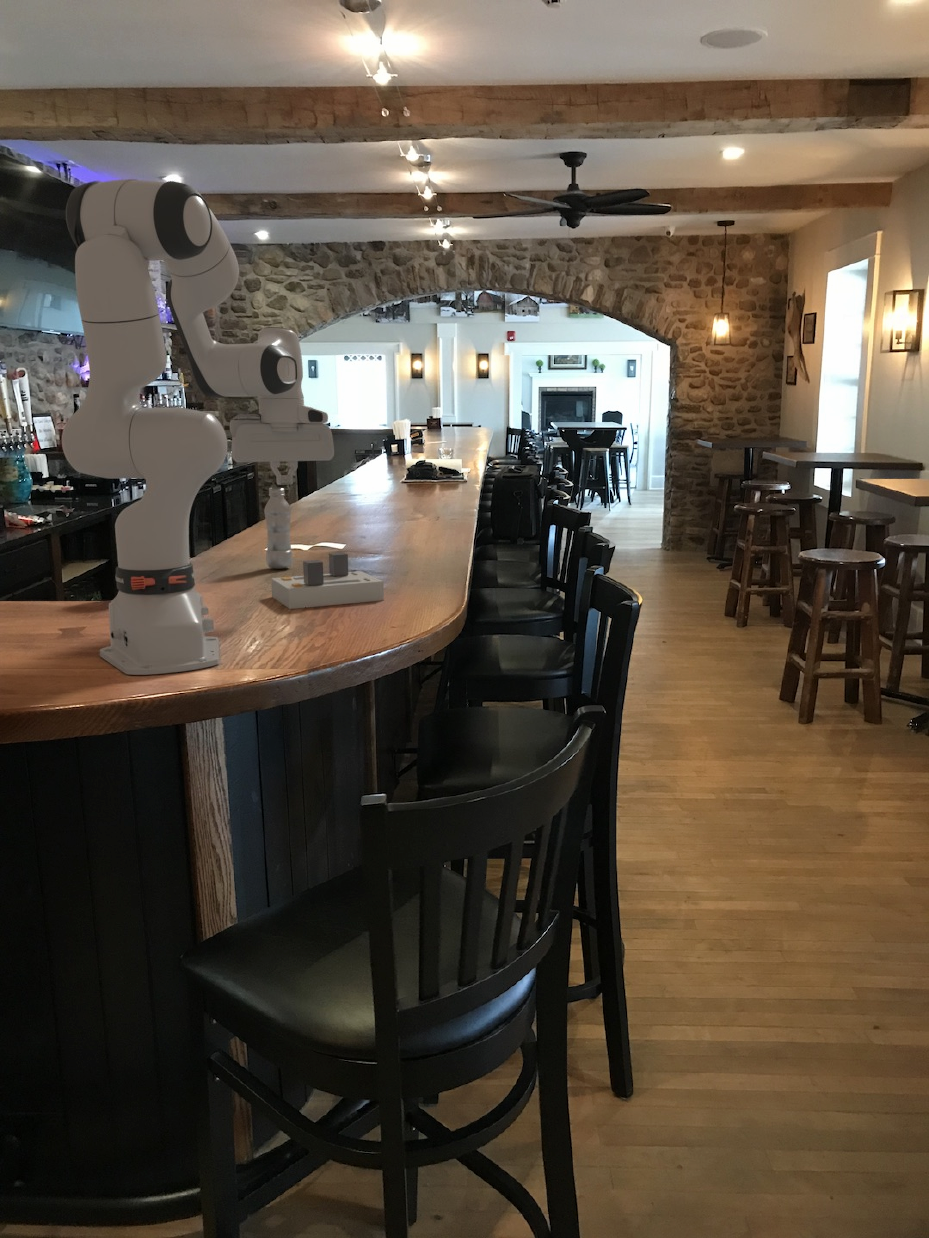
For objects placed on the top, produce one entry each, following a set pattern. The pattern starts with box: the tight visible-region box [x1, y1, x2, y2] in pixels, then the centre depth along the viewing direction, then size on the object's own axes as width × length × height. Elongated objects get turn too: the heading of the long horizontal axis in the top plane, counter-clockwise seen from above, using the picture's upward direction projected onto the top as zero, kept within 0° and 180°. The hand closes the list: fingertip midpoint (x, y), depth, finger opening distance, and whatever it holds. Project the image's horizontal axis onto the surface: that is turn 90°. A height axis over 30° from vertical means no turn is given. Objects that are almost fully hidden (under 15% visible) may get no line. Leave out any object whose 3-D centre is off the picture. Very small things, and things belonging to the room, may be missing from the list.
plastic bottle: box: [263, 487, 294, 570], centre depth 231 cm, size 6×7×20 cm
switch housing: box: [270, 570, 385, 610], centre depth 196 cm, size 14×20×4 cm
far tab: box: [328, 551, 349, 576], centre depth 200 cm, size 3×3×4 cm
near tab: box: [302, 559, 324, 585], centre depth 190 cm, size 3×3×4 cm
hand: (284, 484), depth 188 cm, fingers closed
